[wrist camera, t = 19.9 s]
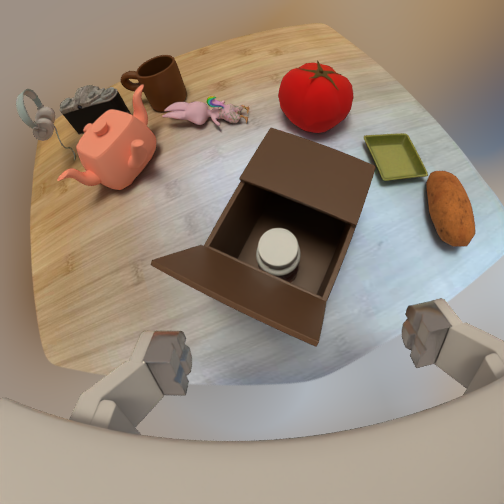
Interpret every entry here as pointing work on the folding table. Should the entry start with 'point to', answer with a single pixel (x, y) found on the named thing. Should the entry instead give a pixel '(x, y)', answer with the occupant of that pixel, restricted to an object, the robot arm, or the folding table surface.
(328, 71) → the tomato
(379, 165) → the olive green tray
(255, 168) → the carton
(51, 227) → the folding table surface
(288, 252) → the pill bottle
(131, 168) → the teapot
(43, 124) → the headphones
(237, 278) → the flap
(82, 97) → the camera
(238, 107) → the pink animal figure
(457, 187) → the potato
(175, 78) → the mug
